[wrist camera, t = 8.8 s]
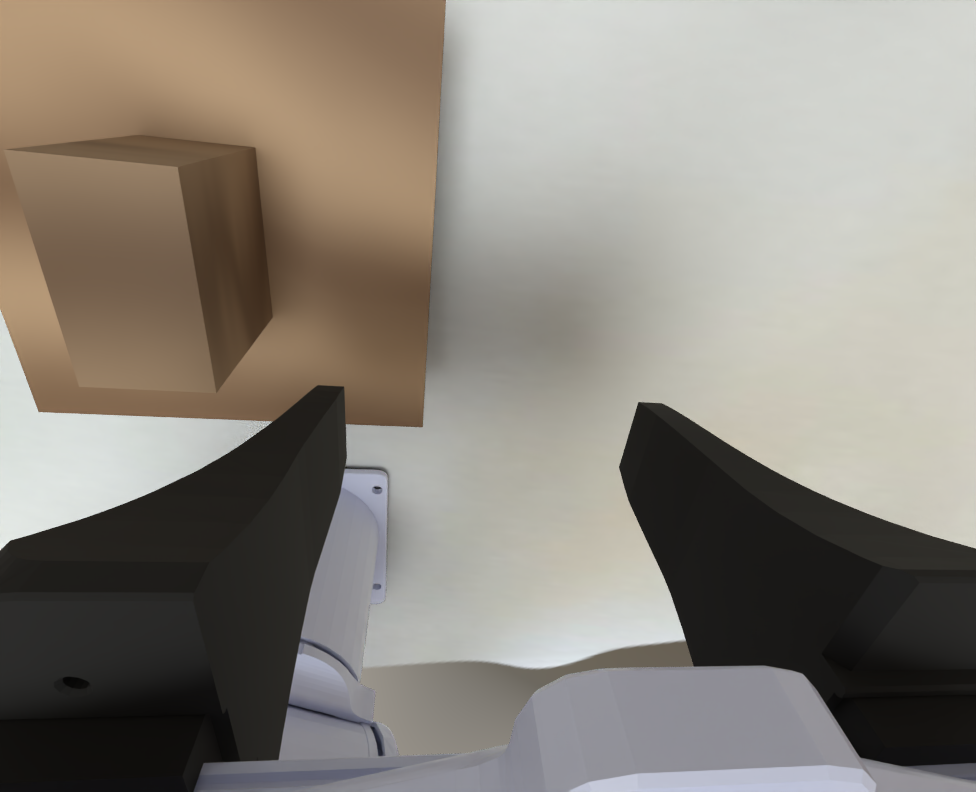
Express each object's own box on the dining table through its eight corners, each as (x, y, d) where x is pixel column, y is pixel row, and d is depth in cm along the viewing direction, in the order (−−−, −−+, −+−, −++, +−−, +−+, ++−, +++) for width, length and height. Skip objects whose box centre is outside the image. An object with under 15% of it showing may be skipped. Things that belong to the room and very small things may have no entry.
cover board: (422, 418, 20) (419, 521, 15) (50, 403, 18) (-91, 513, 13) (445, -2, 13) (452, -60, 9) (-126, -88, 12) (-519, -222, 7)
